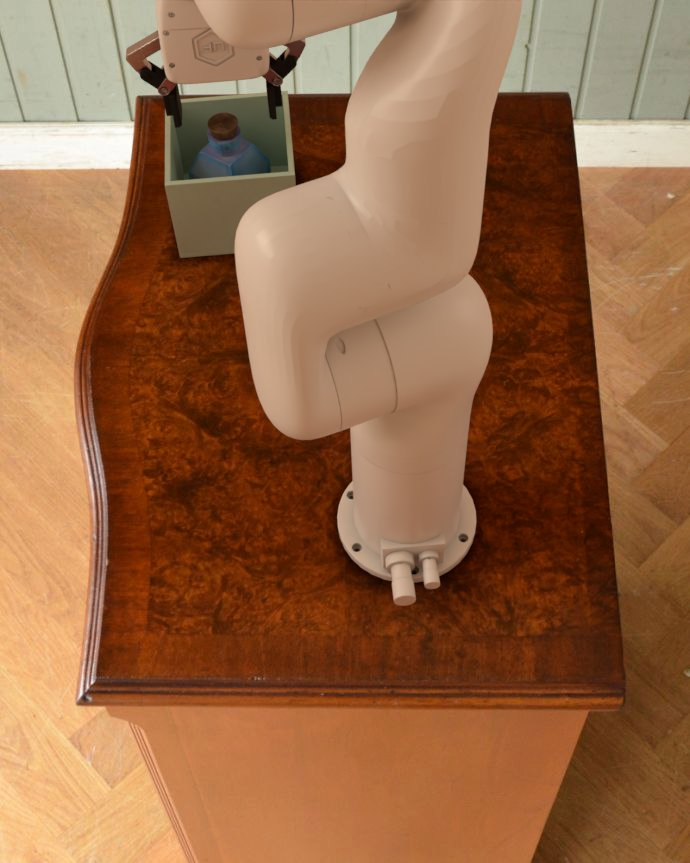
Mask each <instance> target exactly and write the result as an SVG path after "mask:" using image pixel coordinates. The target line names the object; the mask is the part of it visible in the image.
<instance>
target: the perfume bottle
mask: <svg viewBox="0 0 690 863" xmlns="http://www.w3.org/2000/svg"><path fill="white" fill-rule="evenodd" d="M207 124H208V128H209V129H208V139H209V144H208V145H207V146H206V147H205V148H203V149H202V150H201V151H200V152H199V154H198V156H197V158H196V160H195V161H194V163H193V165H192V167H191V168H190V170H189V178H190V180H191V179H203V178H215V177H227V176H240V175H252V174H264V173H271V168H270V159H268V158H267V157H266V156H265V155H264V154H263V153H262V152H261V151H260V150H259V149H258V148H257V147H256V146H255V145H254V144H252V143H250V142H248V141H246V140H244V139H242V137H241V130H240V127H239V126H238V119H237V118H236V116H234V115H233V114H230V113H218V114H215V115H213V116H212V117H211V118H210V119H209V120H208V123H207Z"/></svg>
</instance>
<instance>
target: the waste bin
mask: <svg viewBox="0 0 690 863" xmlns="http://www.w3.org/2000/svg"><path fill="white" fill-rule="evenodd" d="M281 94H282V105H283V106H280V107H276V115H277V119H273V120H272V118H270V116H269V107H268V98H267V91H265V92H255V93H241V94H228V95H216V96H203V97H193V98H180V100H181V105H182V126H180V127H179V128H175V125H174V120H173V116H167V114H166V110H165V109H164V189H165V194H166V199H167V204H168V208H169V212H170V217H171V222H172V227H173V231H174V235H175V236H174V237H175V240H176V245H177V250H178V254H179V258H180V259H185V258H186V259H187V258H197V257H210V256H221V255H235V237H236V231H237V228H238V225H239V223H240V220H241V219H242V217H243V215H244V214H245V212H246V211H247V210H248V209H249V208H250V207H251V206H252V205H254V204H255V203H256V202H258V201H260V200H261V199H263V198H265V197H267V196H270V195H272V194H274V193H277V192H279V191H282V190H285V189H288V188H291V187H294V186H297V183H296V182H297V181H296V169H295V160H294V159H295V158H294V147H293V136H292V124H291V112H290V102H289V92H288V90H281ZM218 113H230V114H233V115H234V116H236V118H237V119H238V126H239V127H240V130H241V137H242V139H244V140H246V141H248V142H250V143H252V144H254V145H255V146H256V147H257V148H258V149H259V150H260V151H261V152H262V153H263V154H264V155H265V156H266V157H267V158H268V159H270V168H271V173H264V174H252V175H240V176H227V177H215V178H203V179H191V180H190V178H189V170H190V168H191V167H192V165H193V163H194V161H195V160H196V158H197V156H198V154H199V152H200V151H201V150H202V149H203V148H205V147H206V146H207V145H208V144H209V139H208V129H209V128H208V124H207V123H208V120H209V119H210V118H211V117H212V116H213V115H215V114H218Z"/></svg>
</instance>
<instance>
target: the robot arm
mask: <svg viewBox="0 0 690 863" xmlns="http://www.w3.org/2000/svg"><path fill="white" fill-rule="evenodd" d="M522 6H523V0H155V13H156V16H155V17H156V23H157V30H156V31H154V32H152V33H150V34H148V35H147V36H145V37H144V38H141V39H140V40H138V41H137V42H135V43H133V44H132V45H130V46H128V47H127V48H126V49H125V60H126V62H127V63H128V64H129V66H130V67H131V68H132V69H133V70H134V71H135V72H137V73H138V75H139V78H140V79H141V80H142V81H143V82H145V83H147V84H148V85H150V86H152V87H153V88H155V89H156V90H157V93H158V94H159V95H160V96H162V99H163V104H164V111H165V110H166V114H167V116H173V120H174V125H175V128H179V127H180V126H182V105H181V100H180V99H181V95H180V88H179V85H195V84H197V85H199V84H210V83H211V84H212V83H221V82H223V83H224V82H234V81H244V80H253V79H258V78H261V77H262V78H263V79H265V87H266V92H267V98H268V107H269V116H270V118H272V120H273V119H277V115H276V107H280V106H283V105H282V94H281V91H282V84H283V83H284V79H285V78H287V76H288V75H289V74H290V73H291V72H292V71H293V70H294V69H295V68H296V67H297V66H298V60H299V59H300V58H301V56H302V53H303V52H304V50H305V48H306V39H307V38H310V37H311V38H312V37H315V36H317V35H321V34H324V33H328V32H331V31H332V32H333V31H334V30H339V29H342V28H345V27H349V26H351V25H355V24H358V23H362V22H365V21H368V20H372V19H375V18H378V17H382V16H385V15H388V14H391V13H396V14H395V19H394V22H393V24H392V25H391V27H390V28H389V29H388V31H387V33H386V34H385V35H384V36H383V37H382V39H381V41H379V43H378V44H377V46H376V47H375V48H374V51H373V52H372V53H371V54H370V57H369V58H368V60H367V61H366V63H365V65H364V67H363V69H362V71H361V73H360V75H359V76H358V79H357V81H356V83H355V85H354V88H353V90H352V92H351V94H350V97H349V100H348V102H347V107H346V111H345V115H344V136H345V153H346V154H345V160H344V161H345V162H344V164H343V165H342V166H340V167H339V168H338V169H337V170H336V171H334V172H332V173H330V174H328V175H325V176H322V177H319V178H315V179H312V180H309V181H305V182H304V183H300V184H296V186H294V187H291V188H288V189H285V190H282V191H279V192H277V193H274V194H272V195H270V196H267V197H265V198H263V199H261V200H260V201H258V202H256V203H255V204H254V205H252V206H251V207H250V208H249V209H248V210H247V211H246V212H245V214H244V215H243V217H242V219H241V220H240V223H239V225H238V228H237V231H236V237H235V254H234V261H235V262H234V263H235V274H236V280H237V284H238V285H237V286H238V292H239V298H240V306H241V312H242V318H243V325H244V331H245V332H244V333H245V339H246V345H247V352H248V359H249V360H248V361H249V366H250V369H251V375H252V376H251V377H252V380H253V385H254V388H255V391H256V394H257V397H258V401H259V403H260V404H261V408H262V410H263V412H264V413H265V415H266V418H268V420H269V421H270V423H271V424H272V425H273V426H274V427H275V428H276V429H277V430H278V431H279V432H280V433H282V434H283V435H284V436H286V437H288V438H291V439H294V440H299V441H312V440H317V439H321V438H325V437H327V436H331V435H333V434H336V433H340V432H342V431H345V430H348V429H350V430H349V433H350V434H349V435H350V456H351V457H350V458H351V475H352V481H351V482H349V484H348V485H347V487H346V488H345V490H344V492H343V493H342V496H341V498H340V500H339V504H338V508H337V516H336V519H337V520H336V521H337V522H336V523H337V531H338V536H339V540H340V542H341V544H342V547H343V548H344V551H345V552H346V553H347V555H348V556H349V558H350V559H351V560H352V561H353V562H354V563H355V564H356V565H358V567H359V568H361V569H362V570H364V571H366V572H367V573H369V574H370V575H371V576H373V577H377V578H379V579H382V580H384V581H388V582H391V590H392V599H393V604H394V605H395V606H399V607H406V606H410V605H413V604H414V603H416V601H417V596H416V587H415V584H416V583H423V586H424V588H425V589H426V590H436V589H438V588H439V587H441V580H440V579H441V578H440V577H441V576H443V575H445V574H446V573H448V572H450V571H451V570H452V569H454V568H456V566H457V565H459V564H460V563H461V562H462V560H463V559H464V558H465V557H466V555H467V554H468V552H469V550H471V549H470V548H471V546H472V545H473V542H474V539H475V535H476V528H477V510H476V506H475V504H474V499H473V498H472V495H471V494H470V492H469V490H468V488H467V487H466V485H464V479H465V470H466V469H465V468H466V457H467V449H468V439H469V438H468V437H469V431H470V421H471V413H472V407H473V401H474V398H475V396H476V395H475V394H476V392H477V390H478V388H479V385H480V383H481V381H482V379H483V377H484V375H485V372H486V369H487V366H488V364H489V361H490V356H491V352H492V348H493V347H492V346H493V339H494V338H493V337H494V328H493V327H494V326H493V317H492V311H491V308H490V306H489V302H488V299H487V297H486V295H485V293H484V291H483V289H482V288H481V286H480V284H479V283H478V282H477V281H476V280H475V279H474V278H473V276H472V275H470V274H469V273H470V272H471V269H472V267H473V265H474V264H475V263H474V262H475V260H476V257H477V253H478V249H479V245H480V244H479V243H480V238H481V229H482V218H483V210H484V199H485V189H486V180H487V179H486V177H487V169H488V158H489V146H490V144H489V143H490V130H491V125H492V119H493V118H492V117H493V112H494V109H495V106H496V102H497V99H498V95H499V91H500V88H501V85H502V83H503V79H504V76H505V73H506V70H507V66H508V63H509V61H510V57H511V54H512V50H513V47H514V43H515V40H516V36H517V32H518V28H519V23H520V20H521V19H520V18H521V14H522V13H521V12H522ZM281 46H284V47H286V49H284V51H283V52H281V54H280V55H279V56H275V55H274V54H273V53H271V51H270V49H271V48H272V49H273V48H277V47H281ZM159 51H160V53H161V61H162V65H161V67H159V66H158V65H156V64H155V63H153V62H151V61H150V60H148V57H150V56H152V55H154V54H156V53H157V52H159Z"/></svg>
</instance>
